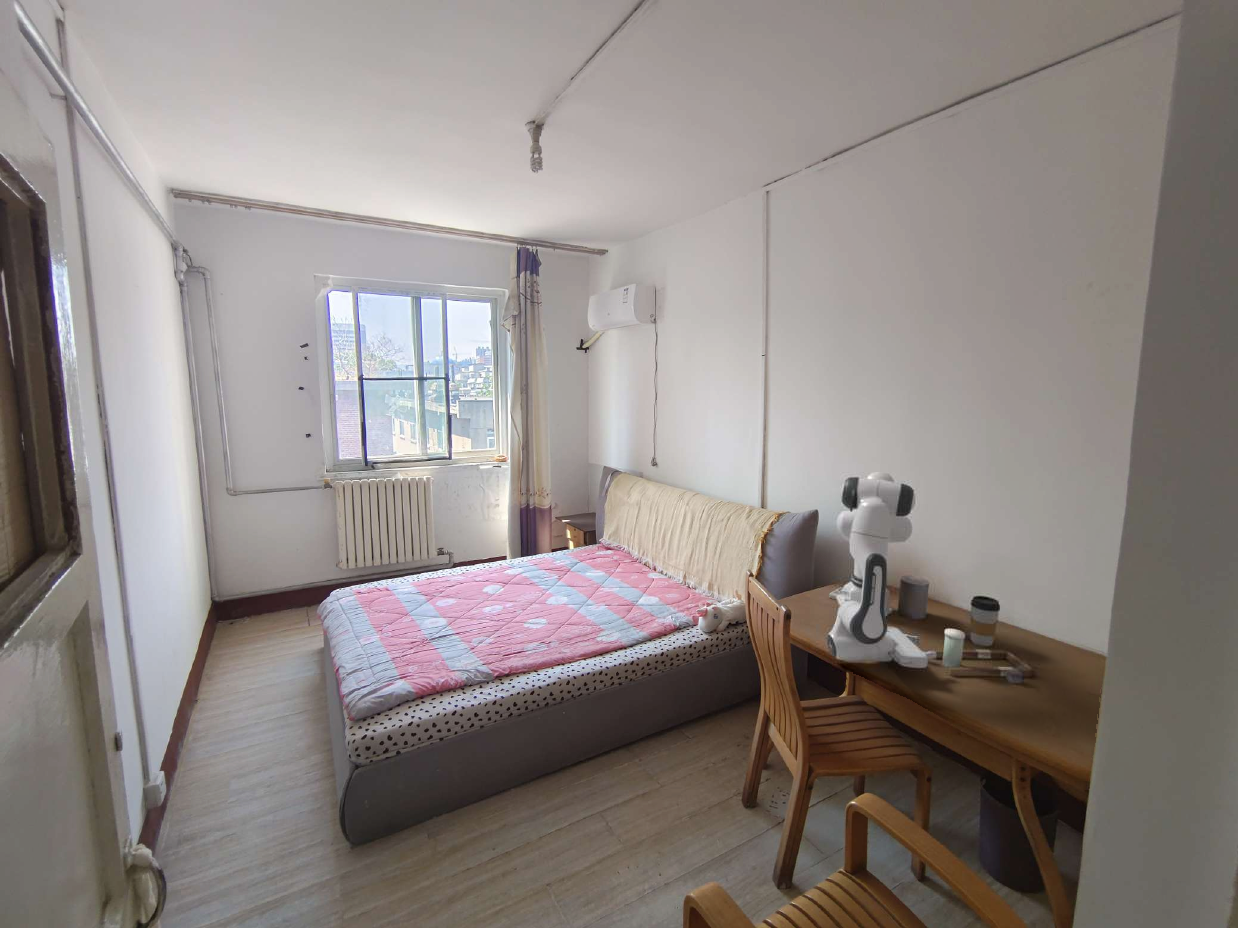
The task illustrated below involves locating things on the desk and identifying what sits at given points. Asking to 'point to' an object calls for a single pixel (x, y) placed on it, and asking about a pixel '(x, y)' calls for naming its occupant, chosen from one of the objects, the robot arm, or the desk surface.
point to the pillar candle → (913, 596)
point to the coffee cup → (983, 620)
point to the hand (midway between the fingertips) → (926, 646)
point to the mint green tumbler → (953, 648)
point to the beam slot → (1011, 673)
